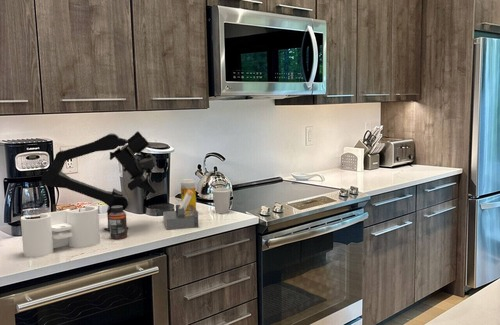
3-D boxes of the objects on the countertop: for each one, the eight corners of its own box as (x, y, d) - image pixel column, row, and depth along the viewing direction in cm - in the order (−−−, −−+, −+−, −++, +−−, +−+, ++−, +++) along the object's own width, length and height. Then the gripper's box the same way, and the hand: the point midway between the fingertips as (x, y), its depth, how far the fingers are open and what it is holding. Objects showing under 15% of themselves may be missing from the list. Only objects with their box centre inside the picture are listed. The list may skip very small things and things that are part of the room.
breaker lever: (179, 211, 190) (189, 191, 191) (178, 209, 195) (188, 189, 195) (183, 213, 191) (193, 193, 191) (181, 210, 196) (191, 190, 196)
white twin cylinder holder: (29, 259, 153) (27, 221, 151) (19, 253, 160) (17, 216, 159) (105, 243, 169) (103, 208, 168) (93, 237, 177) (91, 204, 175)
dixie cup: (235, 212, 212) (234, 189, 211) (218, 215, 208) (217, 192, 206) (225, 209, 219) (225, 187, 218) (209, 211, 215) (208, 189, 213)
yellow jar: (179, 214, 210) (177, 180, 209) (190, 212, 215) (188, 178, 213) (188, 216, 206) (187, 181, 205) (199, 214, 211) (198, 179, 209)
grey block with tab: (166, 229, 185) (166, 211, 184) (163, 221, 199) (162, 204, 198) (198, 227, 188) (197, 209, 188) (193, 219, 202) (192, 202, 201)
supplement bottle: (120, 234, 181) (119, 204, 179) (130, 236, 177) (129, 205, 175) (106, 237, 176) (105, 206, 175) (116, 240, 172) (115, 208, 171)
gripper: (139, 156, 175) (166, 189, 179) (150, 142, 193) (175, 173, 196) (115, 173, 177) (143, 206, 181) (128, 158, 195) (153, 188, 199)
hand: (155, 192), depth 189 cm, fingers closed
